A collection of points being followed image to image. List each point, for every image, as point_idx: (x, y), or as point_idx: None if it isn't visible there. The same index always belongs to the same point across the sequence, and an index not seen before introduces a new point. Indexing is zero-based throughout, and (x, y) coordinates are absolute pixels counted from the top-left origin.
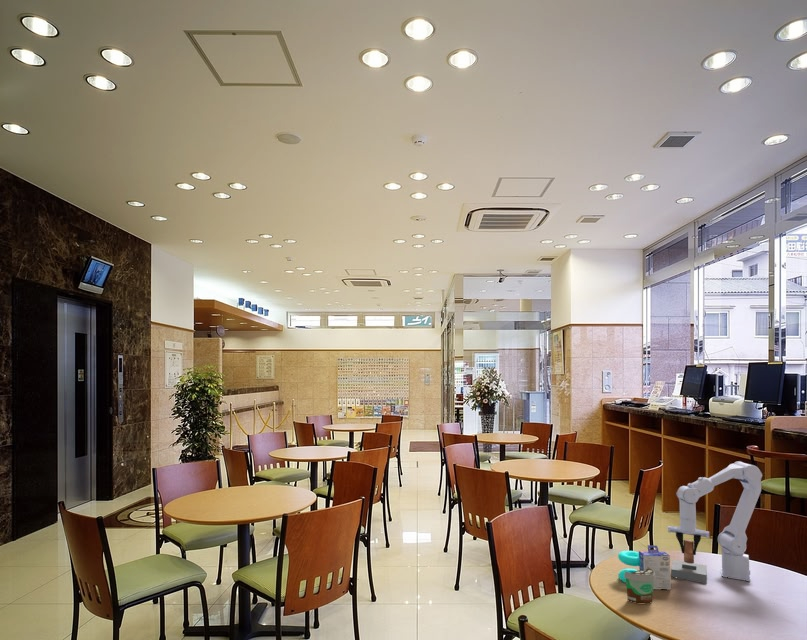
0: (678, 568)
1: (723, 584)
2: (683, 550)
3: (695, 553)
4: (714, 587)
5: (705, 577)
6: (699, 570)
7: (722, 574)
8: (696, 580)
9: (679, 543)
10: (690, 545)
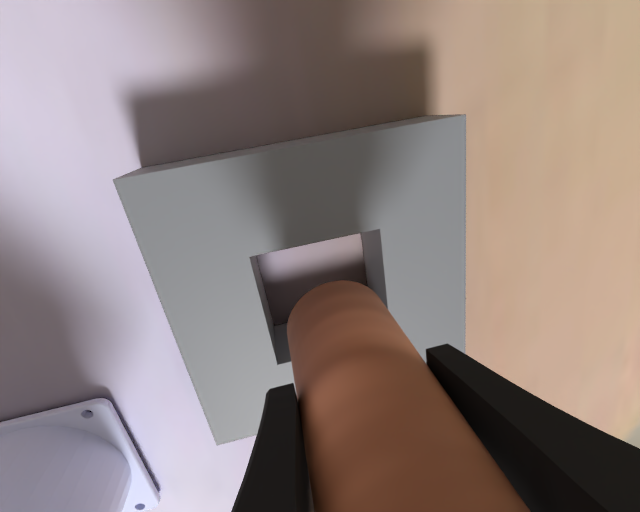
0: (405, 193)
1: (17, 243)
2: (452, 369)
3: (265, 405)
4: (37, 93)
5: (134, 172)
6: (222, 276)
7: (108, 426)
8: (227, 152)
9: (621, 442)
10: (378, 502)
